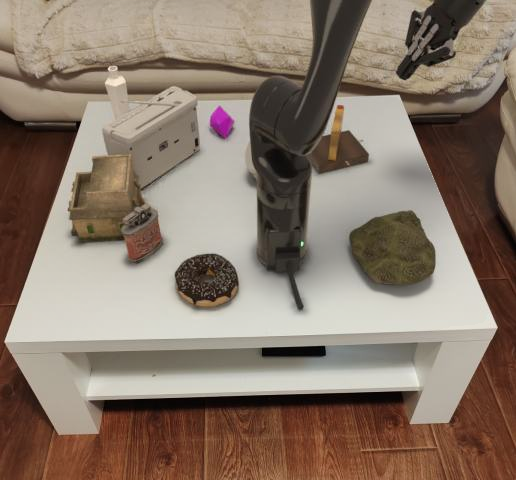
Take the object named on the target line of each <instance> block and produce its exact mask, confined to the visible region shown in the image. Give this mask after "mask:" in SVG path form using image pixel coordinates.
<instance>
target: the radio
mask: <svg viewBox="0 0 516 480" xmlns="http://www.w3.org/2000/svg"><path fill="white" fill-rule="evenodd" d="M120 102H121V103H123V102H127V103H129V104H138V106H136V107H134V108H132V109H131V110H130V111H129V112H127V113H126V114H124V115H122V116H120V117H119V118H117V119H116V118H115V119H113V120H111V121H110V122H108V123H107V124H105V125H103V126H102V128H101V131H102V136H103V137H102V138H103V142H104V145H105V149H106V153H107V154H106V155H125V154H131V156H132V161H133V166H134V170H135V174H136V175H139V179H138V183H139V184H140V185H141V188H140V190H142V189H143V188H144V187H146V186H147V185H149V184H150V183H152V182H153V181H155V180H156V179H158V178H159V177H161V176H162V175H164V174H165V173H167V172H168V171H170V170H171V169H173V168H174V167H176V166H177V165H178V164H180V163H181V162H183V161H185V160H187V158H189V157H191V156H192V155H193V154H194V153H197V152H198V151H199V148H200V145H201V141H200V130H199V121H198V112H197V111H198V110H197V106H198V98H197V96H196V95H195V94H193V93H192V92H190V91H188V90H183V88H181V87H179V86H176V85H172V86H170V87H168V88H167V89H165V90H163V91H161V92H160V93H158V94H156V95H154V96H153V97H151V98H149V99H148V100H147V101H135V100H133V101H132V100H131V101H129V100H128V101H123V100H121V101H120Z"/></svg>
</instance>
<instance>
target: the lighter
mask: <svg viewBox="0 0 516 480" xmlns="http://www.w3.org/2000/svg"><path fill="white" fill-rule="evenodd" d="M145 203H146V204H144V205H143V206H141V207H138V206H137V207H136V208H135V209H134V211H133V213H131V214H129V215H128V216H126V217H125V218H124V219H123V223H124V226H123V227H122V228H121V231H122V234H123V235H124V239H125V240H124V242H125V246H126V249H127V253H128V254H127V258H128V261H129V263H131V264H134V265H136V264H140V263H142V262H144V261H146V260H147V259H149V258H150V257H152V256H153V255H154V254H155V253H157V252H158V251H159V250H160V249H161V248H162V247H163V245H164V239H163V237H162V233H161V227H160V222H159V213H158V210H156V209H155V208H152V207H151V204H150V203H147V202H145Z"/></svg>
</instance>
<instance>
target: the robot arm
mask: <svg viewBox="0 0 516 480" xmlns="http://www.w3.org/2000/svg"><path fill="white" fill-rule="evenodd" d="M372 1H373V0H309V8H310V18H311V30H312V31H311V32H312V46H311V53H310V54H311V55H310V60H309V64H308V68H307V71H306V73H305V74H306V75H305V78H304V80H303V83H302V85H301V84H299V83H297V82H295V81H293V80H292V79H289V78H288V77H286V76H282V75H272V76H270V77H268V78H266V79H264V80H263V81H262V82H261V83H260V84H259V85H258V87H257V88H256V90H255V92H254V94H253V96H252V99H251V103H250V107H249V115H248V127H249V142H250V144H251V157H252V163H253V167H254V169H255V171H256V173H257V179H256V238H257V243H256V244H257V247H256V256H257V258H258V261H259V262H260V263H261V264H262V265H263V266H265V268H266V271H275V272H277V273H278V272H287V276H288V280H289V283H290V286H291V290H292V293H293V297H294V299H295V302H296V305H297V306H296V307H297V309H299V310H302V309H304V304H303V301H302V298H301V295H300V292H299V289H298V286H297V282H296V279H295V274H294V272H299V271H301V264H302V263H303V262H305V259H306V256H307V243H308V242H307V240H308V229H309V228H308V226H309V216H310V202H311V192H312V182H313V181H312V179H313V165H312V164H311V161H310V159H309V158H308V156H307V155H308V154H309V153H310V152H311V151H313V150H314V148H315V147H316V146H317V144H318V143H319V141H320V140H321V138H322V136H324V135H325V134H324V133H326V129H327V128H328V124H329V122H330V119H331V117H332V114H333V110H334V107H335V104H336V102H337V97H338V96H339V91H340V88H341V84H342V81H343V78H344V75H345V72H346V69H347V65H348V63H349V60H350V57H351V54H352V52H353V49H354V46H355V43H356V41H357V39H358V35H359V34H360V30H361V28H362V25H363V23H364V20H365V18H366V16H367V13H368V10H369V8H370V7H371V3H372ZM486 2H487V0H433V3H432V4H430V5H429V6H428V7H426V9H425V10H423V11H418V10H416V9H414V10H413V11H411V13H410V19H409V23H408V27H407V32H406V37H405V43H404V46H406V47H407V54H406V55H405V56H404V58H403V59H402V61H401V62H400V63H399V65H398V66H397V69H396V71H395V75H397V77H398V78H399V79H400V80H401V81H407V80H409V79H410V78H411V77H412V76H413V75H414V73H415V72H416V71H417V70H418V68H419V67H420V66H421V65H422V66H425V67H427V68H431V67H434V66H436V65H438V64H442V63H444V62H446V61H449V60H452V59H454V58H455V57H456V55H457V52H456V51H455V50H454V41H456V39H457V38H458V36H459V33H460V31H461V30H462V28H464V27H466V26H468V24H469V23H470V22H471V21H472V20H473V18H474V17H475V16H476V14H477V13H478V12H479V11H480V9H481V8H482V7H483V6H484V5H485V4H486Z"/></svg>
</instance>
